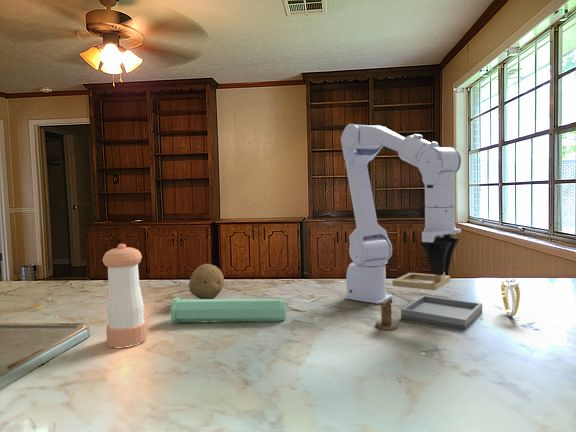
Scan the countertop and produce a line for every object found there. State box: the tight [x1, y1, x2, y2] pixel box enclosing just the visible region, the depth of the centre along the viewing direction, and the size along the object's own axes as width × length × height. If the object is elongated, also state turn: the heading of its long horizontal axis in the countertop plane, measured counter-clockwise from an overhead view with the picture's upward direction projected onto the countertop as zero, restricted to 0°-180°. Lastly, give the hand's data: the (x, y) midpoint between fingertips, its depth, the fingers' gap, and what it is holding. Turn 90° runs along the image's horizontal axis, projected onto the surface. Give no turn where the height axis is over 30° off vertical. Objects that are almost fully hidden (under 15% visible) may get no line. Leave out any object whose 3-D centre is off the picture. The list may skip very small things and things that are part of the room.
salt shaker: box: [102, 243, 148, 347], centre depth 79 cm, size 7×7×19 cm
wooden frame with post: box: [392, 270, 451, 291], centre depth 86 cm, size 9×9×5 cm
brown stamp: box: [375, 298, 399, 331], centre depth 83 cm, size 4×4×5 cm
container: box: [170, 296, 288, 324], centre depth 90 cm, size 6×6×25 cm
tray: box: [400, 295, 483, 331], centre depth 89 cm, size 13×13×2 cm
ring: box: [500, 278, 521, 317], centre depth 87 cm, size 7×3×8 cm, turn 165°
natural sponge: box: [188, 263, 225, 299], centre depth 105 cm, size 9×9×10 cm
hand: (440, 273), depth 84 cm, fingers closed on wooden frame with post, 2 cm apart
